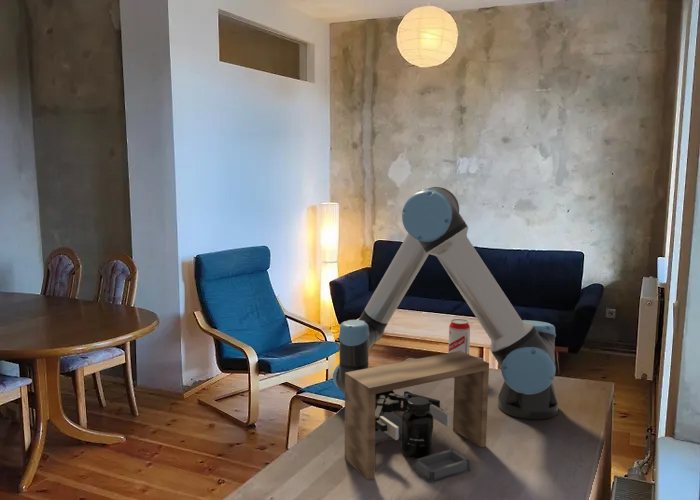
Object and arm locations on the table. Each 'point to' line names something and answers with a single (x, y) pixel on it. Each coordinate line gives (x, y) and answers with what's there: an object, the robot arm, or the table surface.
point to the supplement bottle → (417, 428)
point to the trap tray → (441, 465)
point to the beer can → (459, 336)
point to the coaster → (395, 420)
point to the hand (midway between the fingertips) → (423, 427)
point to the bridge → (405, 374)
